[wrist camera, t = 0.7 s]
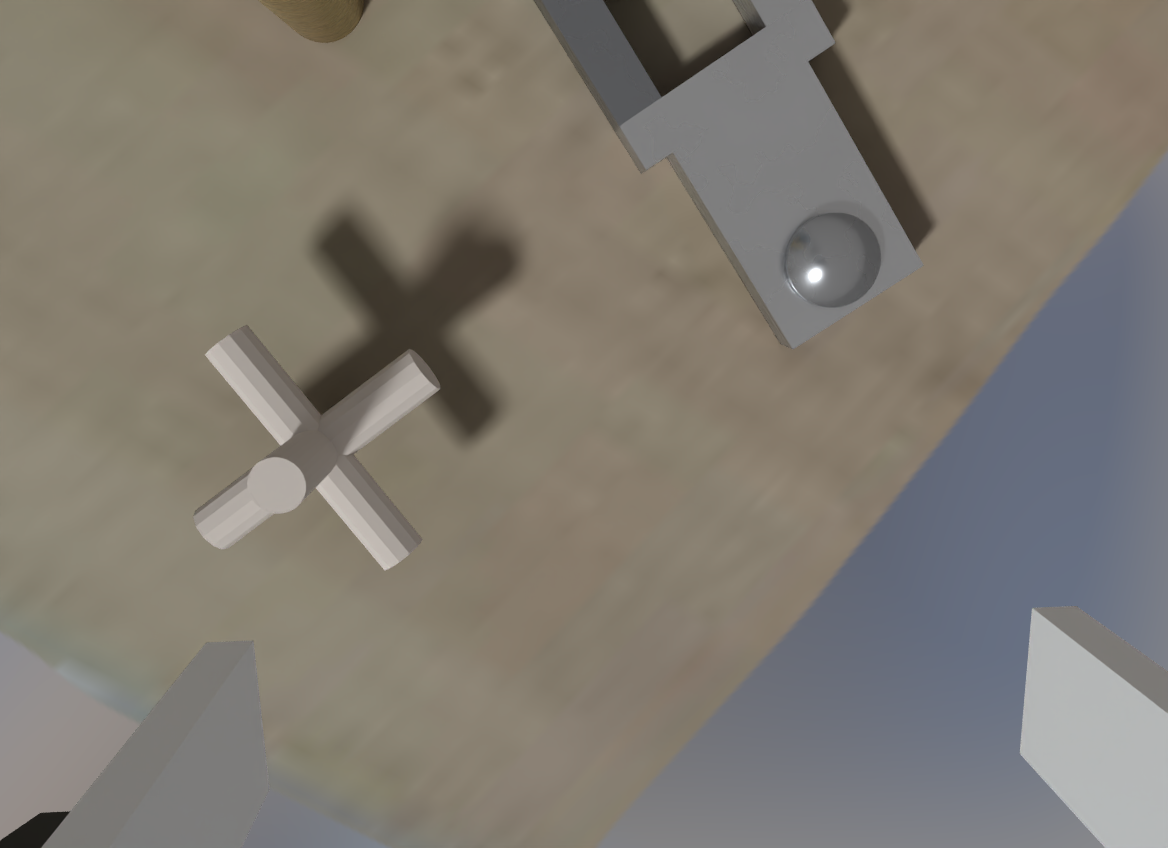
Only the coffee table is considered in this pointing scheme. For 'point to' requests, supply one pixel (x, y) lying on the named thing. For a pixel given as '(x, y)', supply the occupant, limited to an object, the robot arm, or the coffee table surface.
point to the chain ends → (755, 159)
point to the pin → (318, 17)
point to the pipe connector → (315, 448)
